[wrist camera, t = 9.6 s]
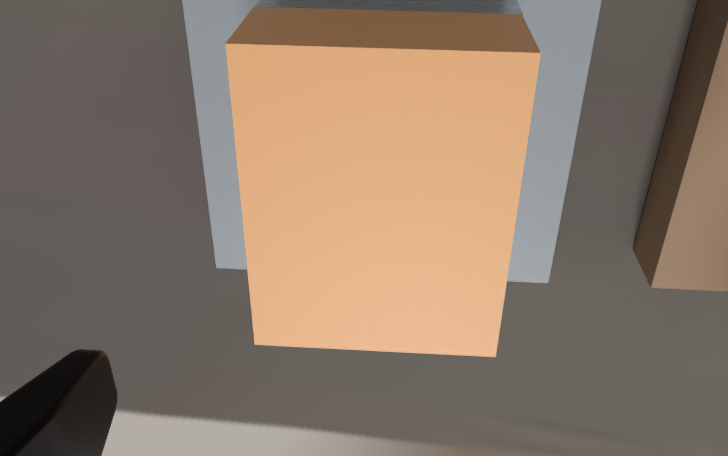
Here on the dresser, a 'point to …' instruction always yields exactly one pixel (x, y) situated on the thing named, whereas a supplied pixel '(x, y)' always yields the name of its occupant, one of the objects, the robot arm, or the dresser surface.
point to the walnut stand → (692, 168)
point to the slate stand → (544, 148)
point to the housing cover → (380, 173)
